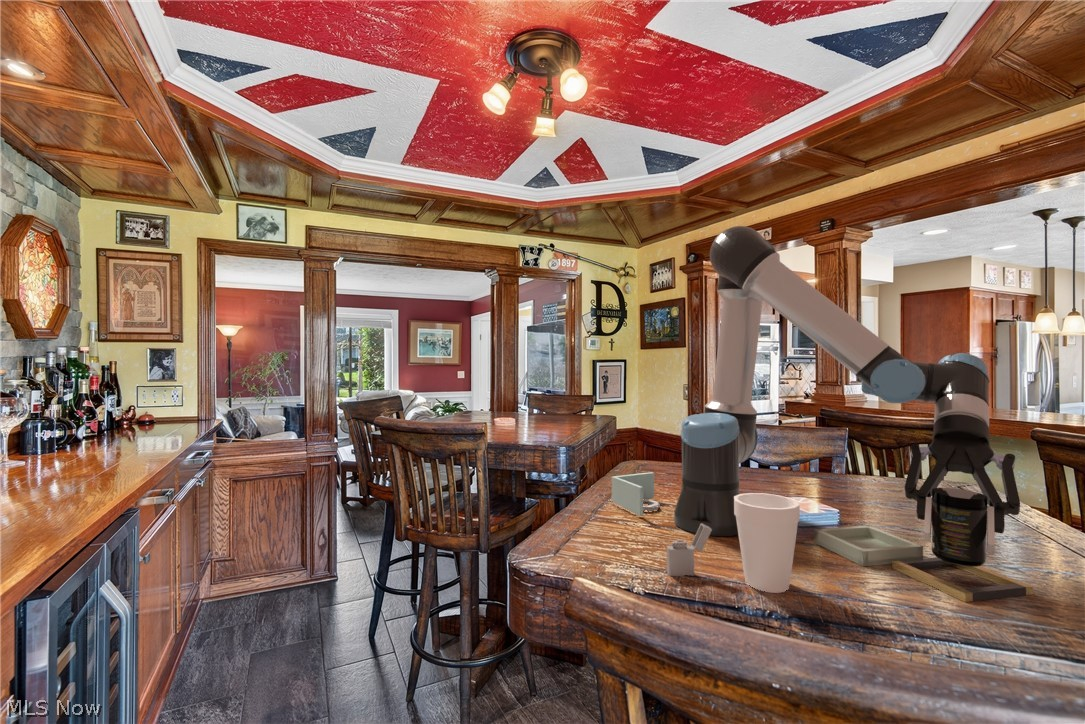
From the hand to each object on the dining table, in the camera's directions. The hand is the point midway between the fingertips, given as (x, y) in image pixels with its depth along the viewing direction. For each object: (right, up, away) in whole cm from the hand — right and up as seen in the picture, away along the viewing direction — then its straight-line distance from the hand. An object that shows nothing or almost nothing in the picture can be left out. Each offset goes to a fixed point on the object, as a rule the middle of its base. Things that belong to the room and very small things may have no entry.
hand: (958, 542), depth 75 cm
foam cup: (-28, -7, +2) cm, 29 cm away
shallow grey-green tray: (-4, -7, +15) cm, 17 cm away
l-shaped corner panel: (-38, -8, +44) cm, 59 cm away
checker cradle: (+2, -7, +3) cm, 8 cm away
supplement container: (+2, -4, +3) cm, 5 cm away
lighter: (-39, -8, +6) cm, 40 cm away
